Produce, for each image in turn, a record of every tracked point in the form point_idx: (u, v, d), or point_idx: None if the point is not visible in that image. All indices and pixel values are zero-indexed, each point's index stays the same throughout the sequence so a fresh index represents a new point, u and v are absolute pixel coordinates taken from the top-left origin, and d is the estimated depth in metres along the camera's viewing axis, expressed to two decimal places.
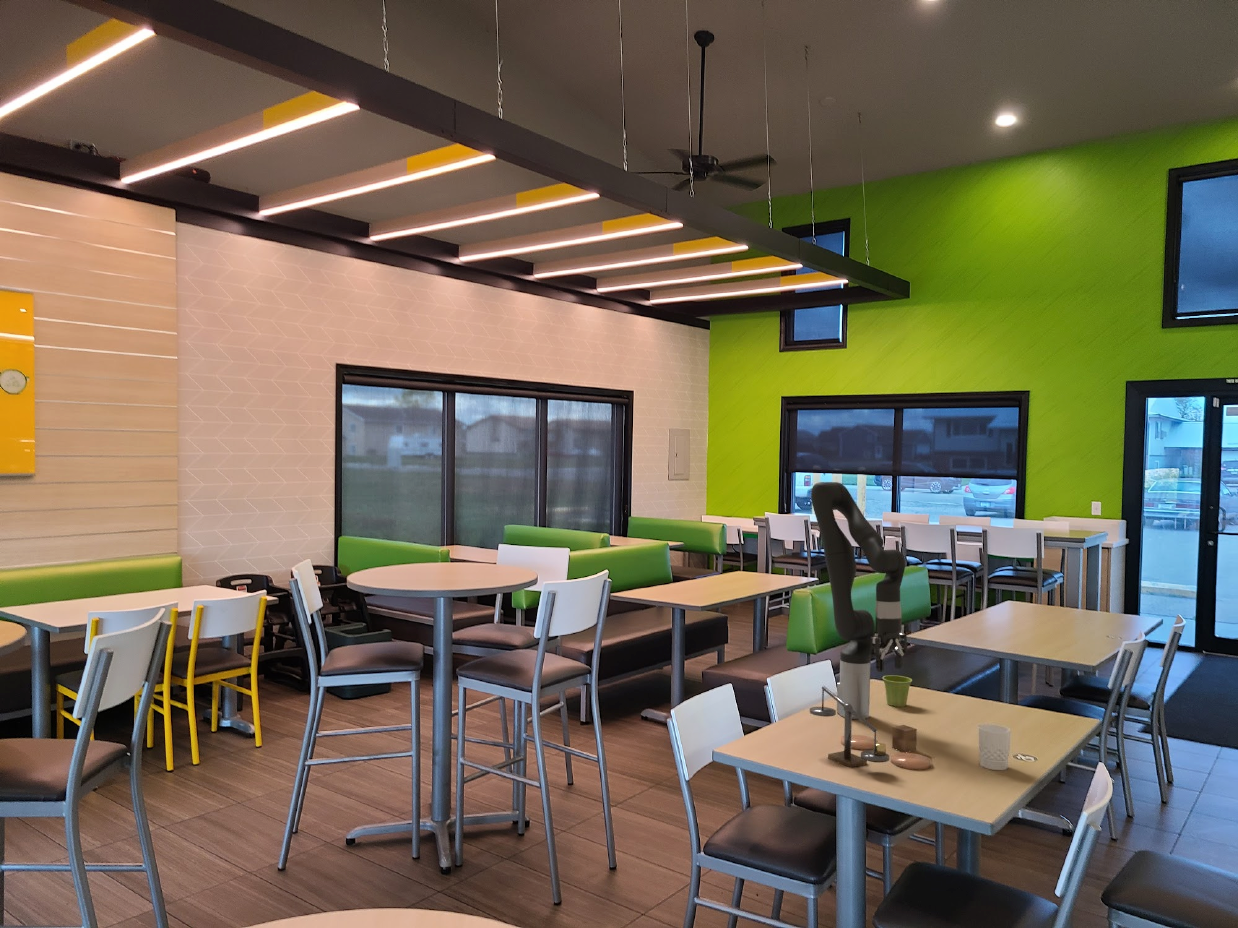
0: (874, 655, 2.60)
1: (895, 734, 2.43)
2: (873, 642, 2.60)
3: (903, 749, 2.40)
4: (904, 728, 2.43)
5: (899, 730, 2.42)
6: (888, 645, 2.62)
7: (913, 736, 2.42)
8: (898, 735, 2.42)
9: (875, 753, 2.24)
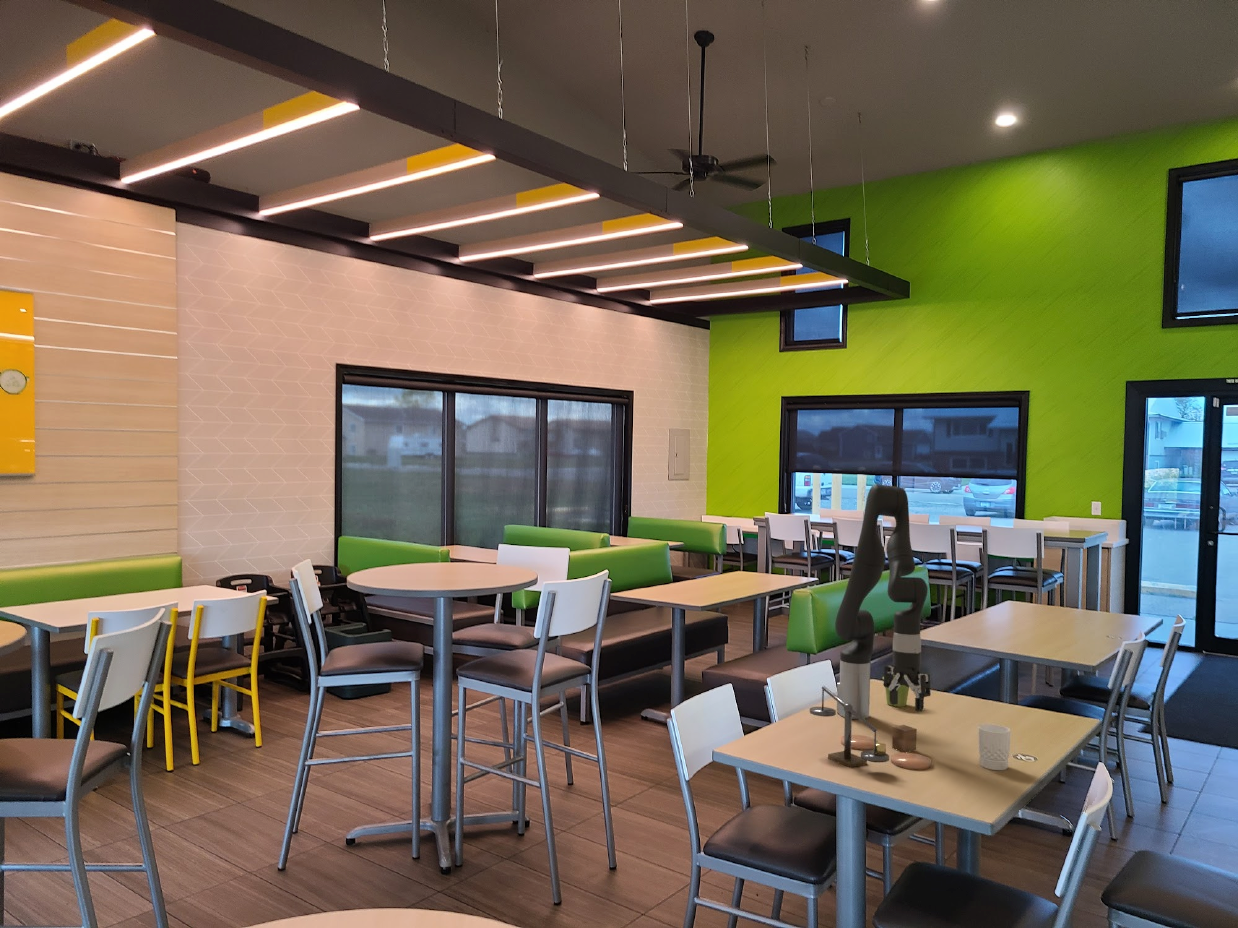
0: (927, 694, 2.37)
1: (895, 734, 2.43)
2: (926, 680, 2.37)
3: (903, 749, 2.40)
4: (904, 728, 2.43)
5: (899, 730, 2.42)
6: None
7: (913, 736, 2.42)
8: (898, 735, 2.42)
9: (875, 753, 2.24)
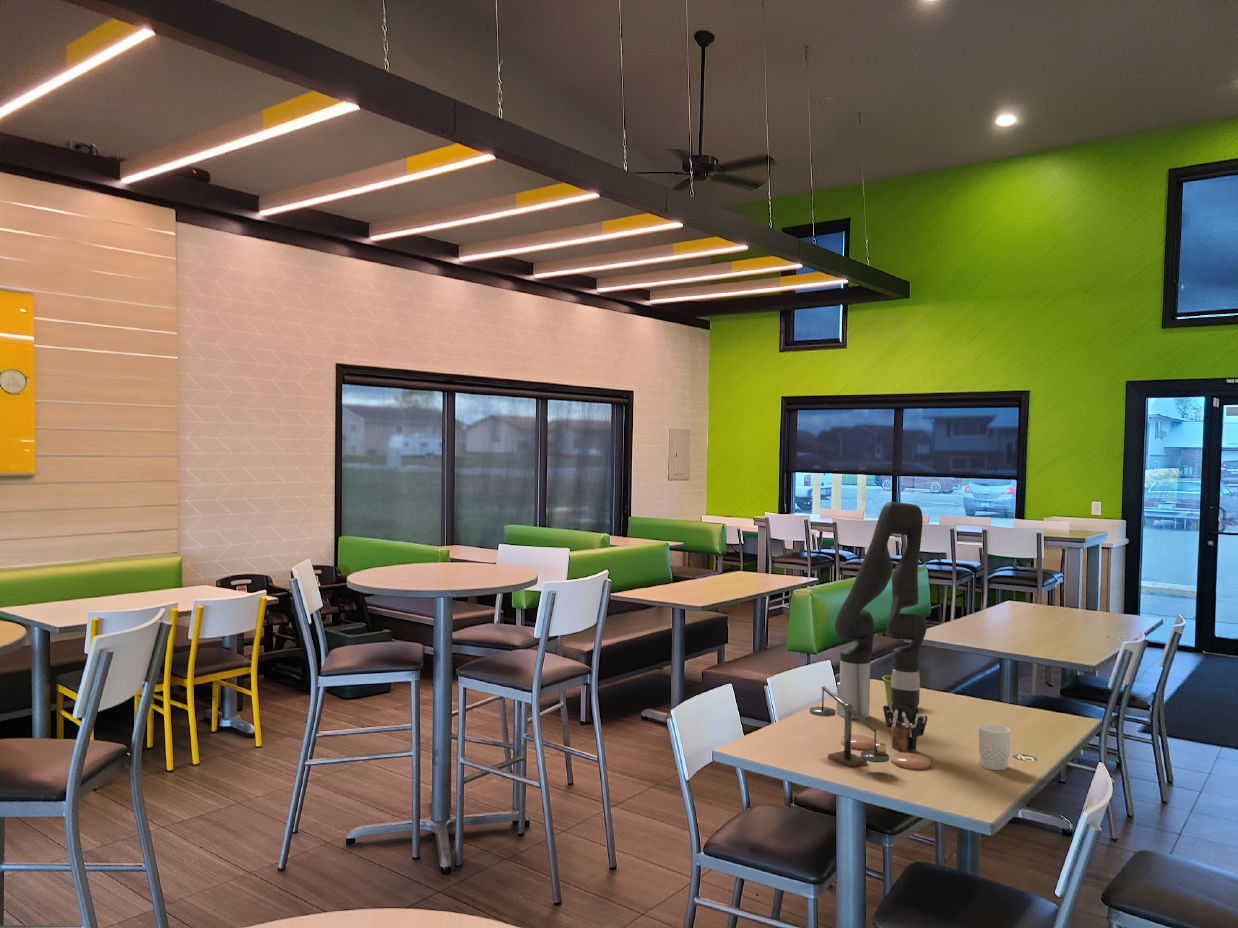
0: (920, 734, 2.39)
1: (895, 734, 2.43)
2: (923, 722, 2.38)
3: (903, 749, 2.40)
4: (904, 728, 2.43)
5: (899, 730, 2.42)
6: None
7: None
8: (898, 735, 2.42)
9: (875, 753, 2.24)
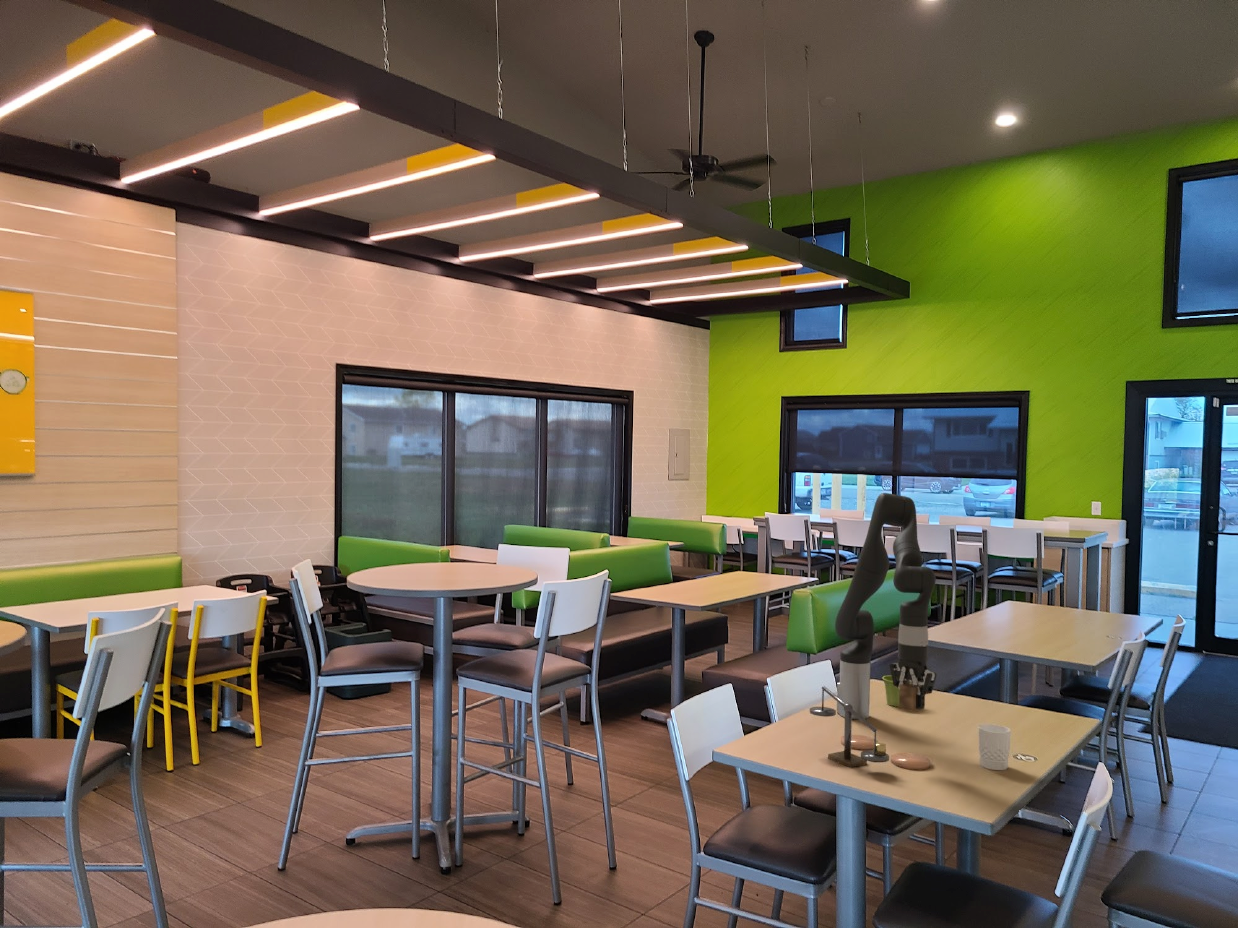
0: (929, 692, 2.27)
1: (903, 692, 2.31)
2: (932, 679, 2.26)
3: (911, 707, 2.29)
4: (912, 686, 2.31)
5: (906, 688, 2.30)
6: None
7: None
8: (905, 693, 2.30)
9: (875, 753, 2.24)
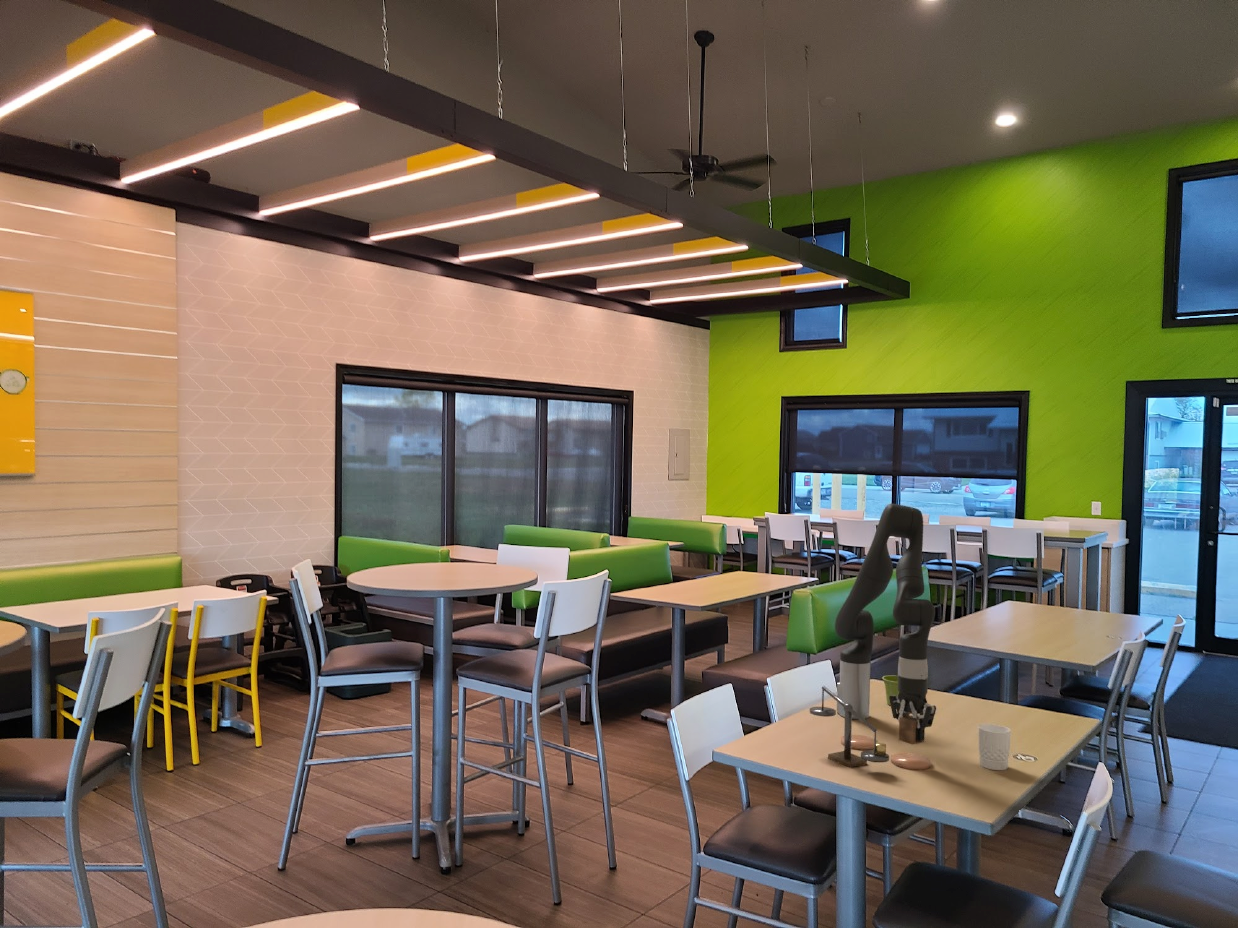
0: (928, 725, 2.27)
1: (902, 725, 2.31)
2: (932, 712, 2.26)
3: (910, 740, 2.29)
4: (911, 718, 2.31)
5: (906, 721, 2.30)
6: None
7: None
8: (905, 726, 2.30)
9: (875, 753, 2.24)
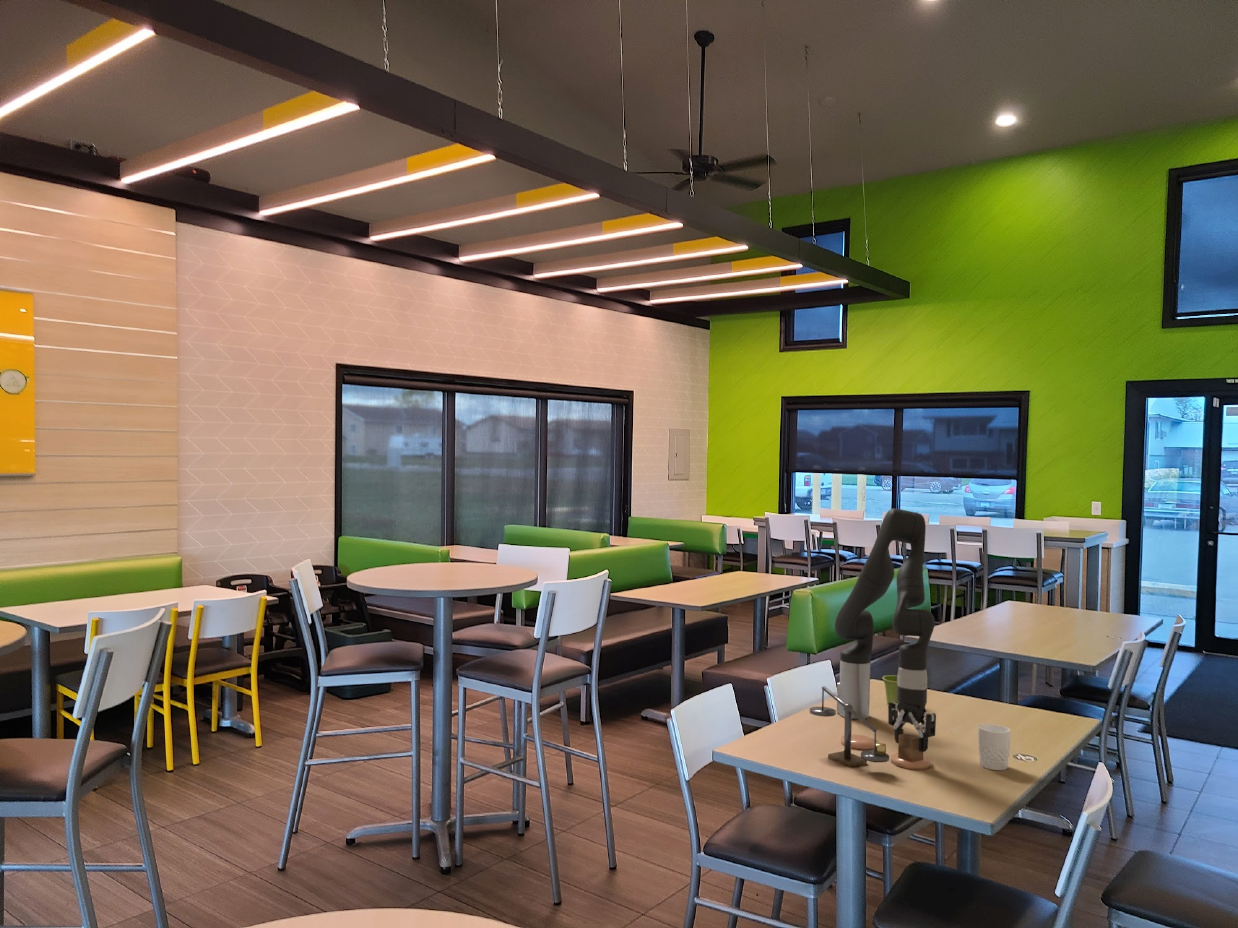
0: (932, 734, 2.26)
1: (902, 742, 2.31)
2: (932, 720, 2.25)
3: (910, 758, 2.29)
4: (911, 736, 2.31)
5: (905, 738, 2.30)
6: None
7: None
8: (904, 744, 2.30)
9: (875, 753, 2.24)
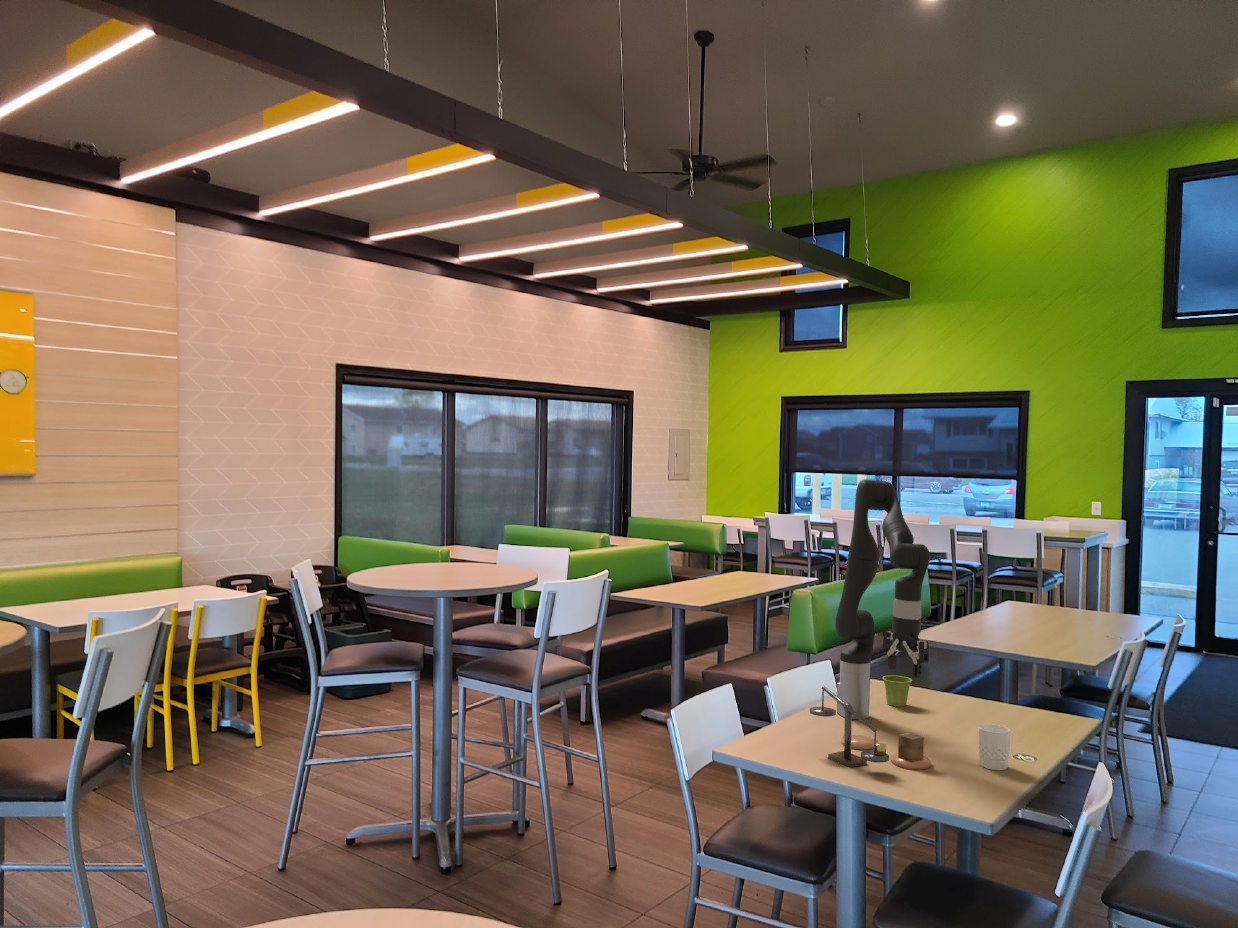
0: (925, 661, 2.37)
1: (902, 742, 2.31)
2: (925, 647, 2.37)
3: (910, 758, 2.29)
4: (911, 736, 2.31)
5: (905, 738, 2.30)
6: None
7: (920, 745, 2.30)
8: (904, 744, 2.30)
9: (875, 753, 2.24)
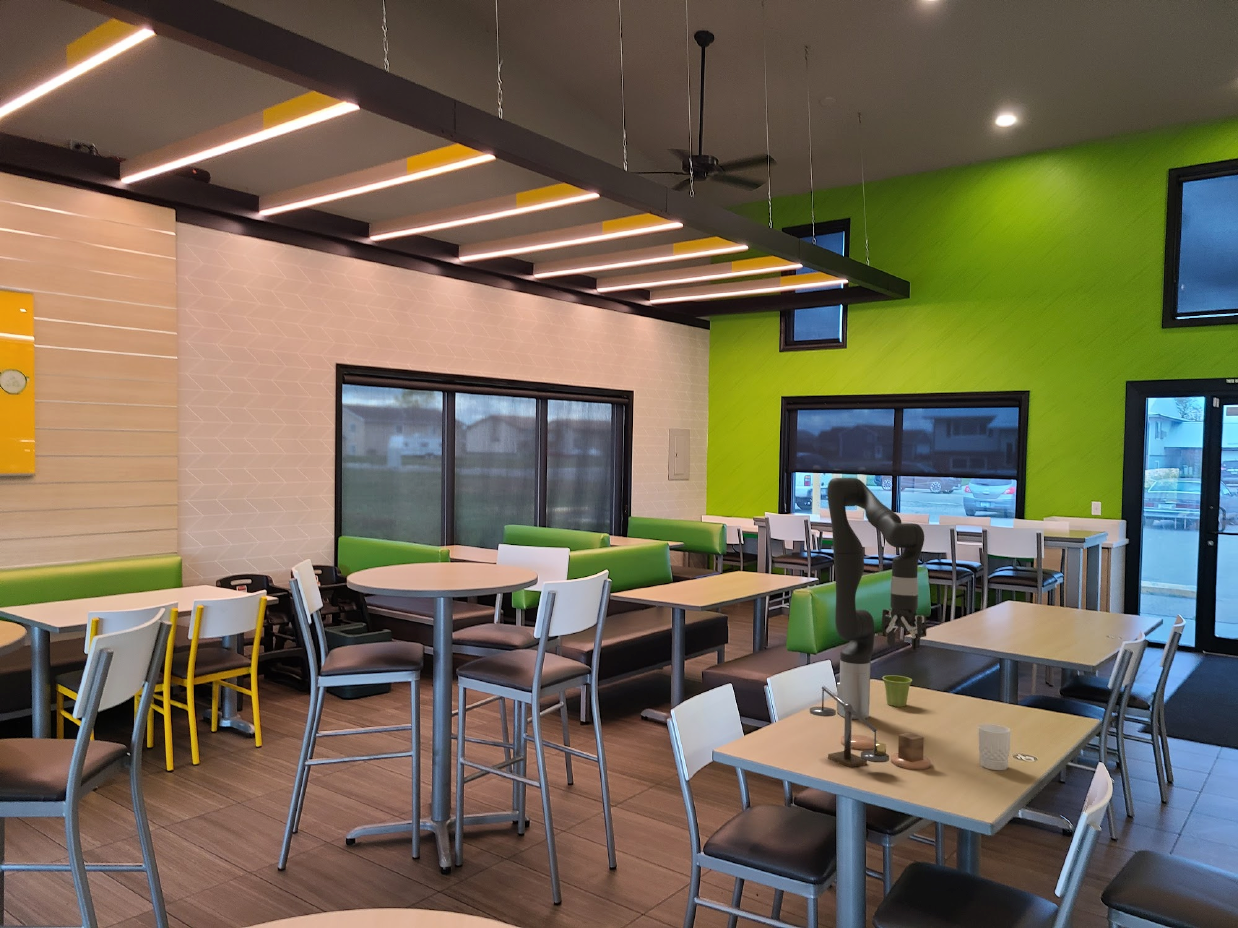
0: (923, 634, 2.47)
1: (902, 742, 2.31)
2: (923, 621, 2.47)
3: (910, 758, 2.29)
4: (911, 736, 2.31)
5: (905, 738, 2.30)
6: None
7: (920, 745, 2.30)
8: (904, 744, 2.30)
9: (875, 753, 2.24)
